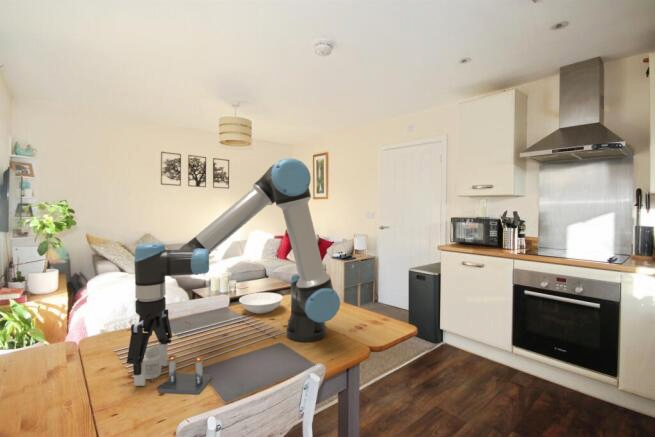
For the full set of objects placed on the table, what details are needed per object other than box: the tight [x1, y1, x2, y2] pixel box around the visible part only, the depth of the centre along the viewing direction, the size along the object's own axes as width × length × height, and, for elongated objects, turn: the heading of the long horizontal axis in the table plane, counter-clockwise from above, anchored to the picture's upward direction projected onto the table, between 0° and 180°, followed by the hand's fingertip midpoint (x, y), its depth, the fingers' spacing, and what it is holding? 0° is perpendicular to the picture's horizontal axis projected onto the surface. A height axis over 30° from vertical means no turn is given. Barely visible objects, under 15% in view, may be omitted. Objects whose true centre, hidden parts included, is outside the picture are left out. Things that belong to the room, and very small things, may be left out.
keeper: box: [157, 354, 213, 395], centre depth 88 cm, size 11×8×8 cm
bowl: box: [238, 292, 284, 315], centre depth 148 cm, size 20×20×6 cm
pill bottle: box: [143, 346, 162, 380], centre depth 92 cm, size 4×4×8 cm
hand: (151, 374), depth 93 cm, fingers open, 10 cm apart
